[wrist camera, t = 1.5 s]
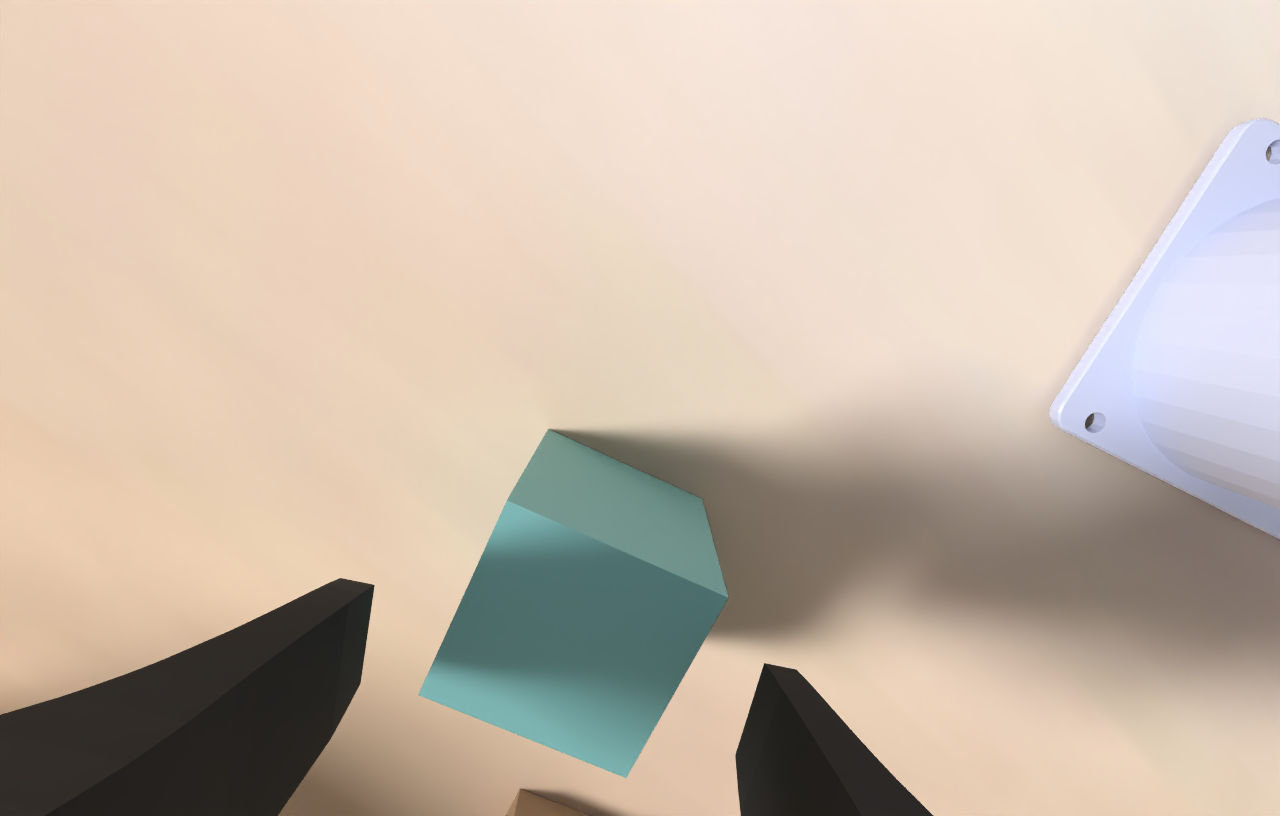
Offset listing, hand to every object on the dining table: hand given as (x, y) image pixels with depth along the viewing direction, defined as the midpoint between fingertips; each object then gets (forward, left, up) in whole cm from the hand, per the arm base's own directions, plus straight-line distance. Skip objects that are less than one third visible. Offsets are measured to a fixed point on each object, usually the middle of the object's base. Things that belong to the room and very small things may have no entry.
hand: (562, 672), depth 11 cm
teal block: (0, 0, -6) cm, 6 cm away
